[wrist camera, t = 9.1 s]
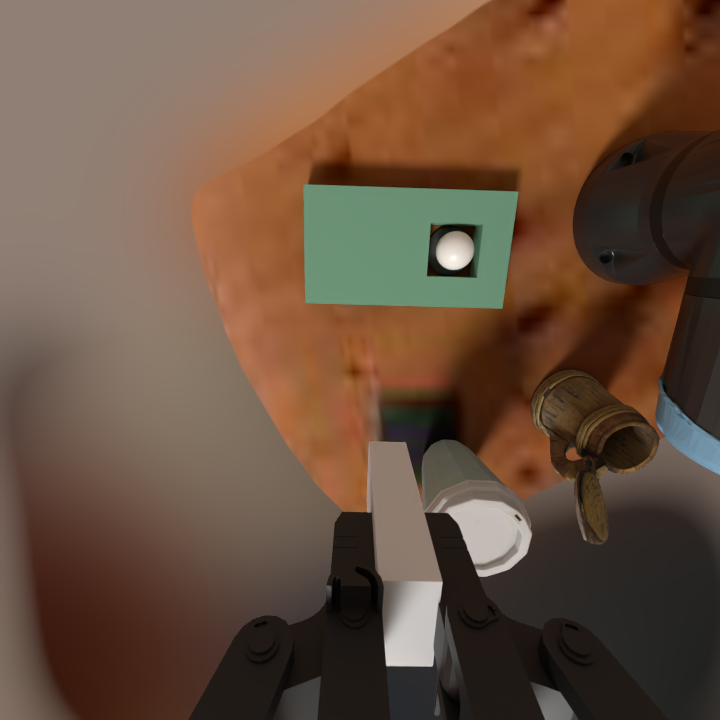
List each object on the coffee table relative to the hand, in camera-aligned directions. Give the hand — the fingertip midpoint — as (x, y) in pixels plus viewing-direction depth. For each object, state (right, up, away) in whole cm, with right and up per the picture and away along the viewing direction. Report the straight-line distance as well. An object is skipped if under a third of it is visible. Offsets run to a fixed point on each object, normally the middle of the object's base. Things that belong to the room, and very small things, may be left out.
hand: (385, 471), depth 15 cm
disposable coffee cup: (+10, -8, +33) cm, 36 cm away
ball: (+9, +16, +24) cm, 30 cm away
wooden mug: (+23, -2, +32) cm, 39 cm away
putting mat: (+4, +17, +26) cm, 31 cm away
